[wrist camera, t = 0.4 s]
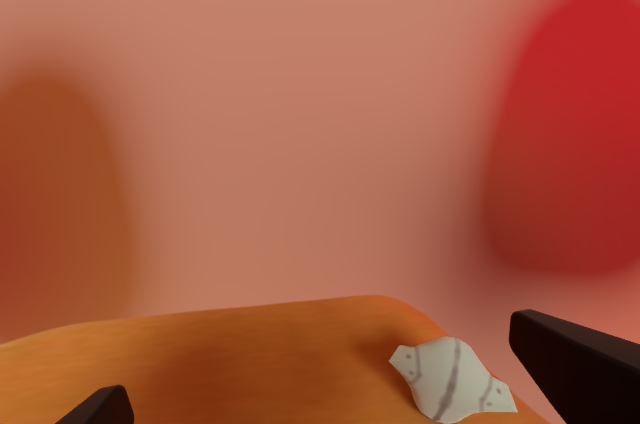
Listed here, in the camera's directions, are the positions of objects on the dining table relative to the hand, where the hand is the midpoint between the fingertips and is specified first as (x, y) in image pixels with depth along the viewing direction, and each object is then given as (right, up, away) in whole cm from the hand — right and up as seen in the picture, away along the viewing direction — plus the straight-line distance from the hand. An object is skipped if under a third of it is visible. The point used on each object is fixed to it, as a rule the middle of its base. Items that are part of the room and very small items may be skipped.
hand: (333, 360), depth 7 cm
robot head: (+8, -12, +16) cm, 22 cm away
